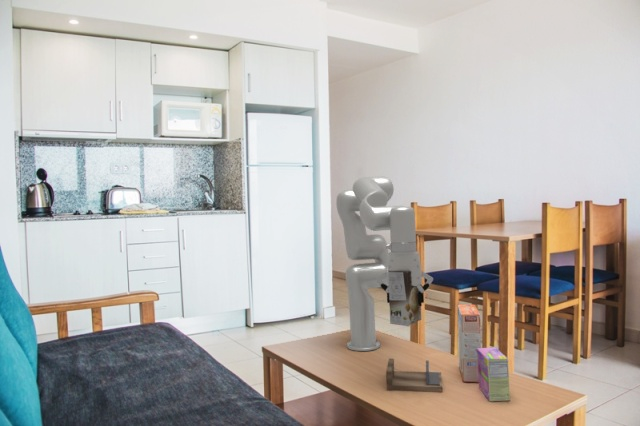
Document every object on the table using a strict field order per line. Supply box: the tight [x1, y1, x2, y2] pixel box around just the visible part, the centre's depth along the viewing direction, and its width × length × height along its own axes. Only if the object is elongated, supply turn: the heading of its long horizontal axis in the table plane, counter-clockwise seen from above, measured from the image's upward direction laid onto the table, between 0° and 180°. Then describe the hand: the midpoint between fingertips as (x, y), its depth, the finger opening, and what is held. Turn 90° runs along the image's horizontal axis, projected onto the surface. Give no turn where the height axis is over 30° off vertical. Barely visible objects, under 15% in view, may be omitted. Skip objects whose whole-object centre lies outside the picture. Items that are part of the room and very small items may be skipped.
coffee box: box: [388, 271, 422, 327], centre depth 153 cm, size 9×6×16 cm
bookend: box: [425, 360, 440, 386], centre depth 152 cm, size 10×4×4 cm, turn 168°
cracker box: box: [457, 304, 482, 383], centre depth 158 cm, size 14×6×21 cm, turn 168°
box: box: [477, 347, 510, 402], centre depth 142 cm, size 10×6×12 cm, turn 178°
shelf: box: [385, 358, 444, 393], centre depth 153 cm, size 12×16×6 cm
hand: (405, 304), depth 153 cm, fingers closed on coffee box, 8 cm apart
